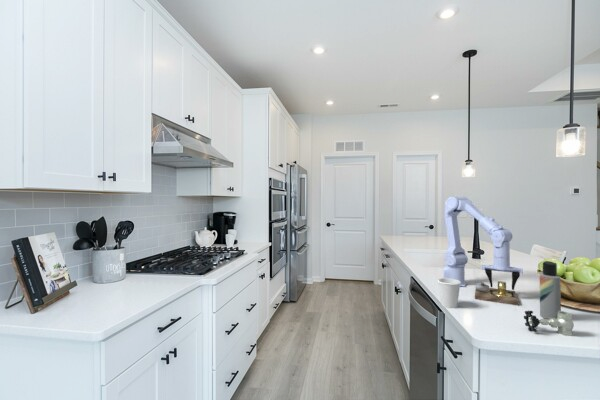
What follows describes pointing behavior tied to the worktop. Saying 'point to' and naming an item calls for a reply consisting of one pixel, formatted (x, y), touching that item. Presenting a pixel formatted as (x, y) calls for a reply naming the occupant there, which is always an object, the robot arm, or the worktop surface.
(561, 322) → the valve
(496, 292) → the brass flanged knob
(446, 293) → the dixie cup
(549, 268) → the lotion bottle
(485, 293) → the carrier
